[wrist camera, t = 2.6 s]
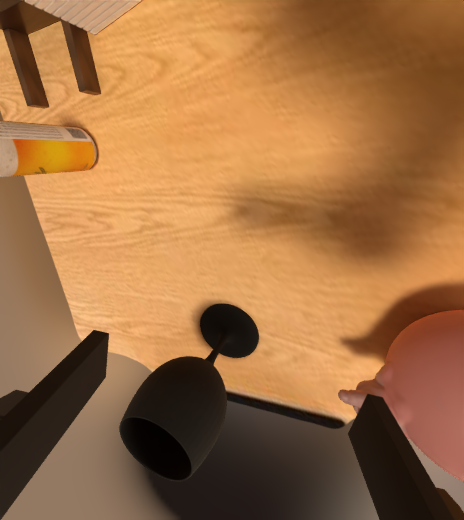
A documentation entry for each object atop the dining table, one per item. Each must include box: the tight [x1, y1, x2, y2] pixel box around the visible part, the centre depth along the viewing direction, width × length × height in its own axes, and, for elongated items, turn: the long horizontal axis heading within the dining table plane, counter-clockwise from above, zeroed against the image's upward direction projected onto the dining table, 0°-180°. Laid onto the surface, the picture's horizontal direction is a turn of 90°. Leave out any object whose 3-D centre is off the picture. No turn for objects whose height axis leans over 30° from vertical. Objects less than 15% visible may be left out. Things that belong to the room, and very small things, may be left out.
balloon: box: [338, 310, 464, 482], centre depth 26 cm, size 15×20×15 cm
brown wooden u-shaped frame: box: [0, 0, 101, 108], centre depth 34 cm, size 10×12×5 cm
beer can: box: [0, 121, 97, 177], centre depth 34 cm, size 6×6×15 cm
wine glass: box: [120, 304, 259, 481], centre depth 35 cm, size 10×10×20 cm
